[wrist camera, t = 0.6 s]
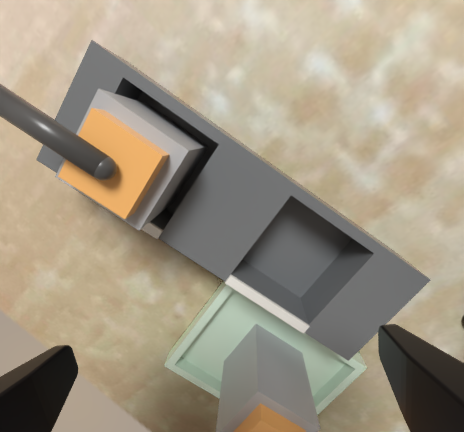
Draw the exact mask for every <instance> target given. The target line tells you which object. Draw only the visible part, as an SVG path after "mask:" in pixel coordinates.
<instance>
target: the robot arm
mask: <svg viewBox="0 0 464 432" xmlns="http://www.w3.org/2000/svg"><path fill="white" fill-rule="evenodd" d="M378 341H379V356H380V360H381V363H382V365H383V367H384V370H385V372H386V375H387V377H388V380H389V382H390V385H391V387H392V390H393V392H394V395H395V397H396V400H397V402H398V405H399V407H400V410H401V412H402V414H403V417H404V419H405V421H406V423H407V425H408V427H409V430H410V432H464V363H463V362H461V361H459V360H457V359H456V358H454V357H452V356H450V355H449V354H447V353H445V352H443V351H442V350H440V349H438V348H436V347H435V346H433V345H431V344H429V343H428V342H426V341H424V340H422V339H421V338H419V337H417V336H415V335H414V334H412V333H410V332H408V331H407V330H405V329H403V328H401V327H400V326H398V325H395V324H390V325H381V326H380V327H379V330H378ZM77 374H78V365H77V362H76V359H75V356H74V353H73V350H72V348H71V347H70V346H68V345H61V346H55V347H53V348H51V349H49V350H47V351H46V352H44V353H42V354H40V355H39V356H37V357H35V358H33V359H31V360H30V361H28V362H26V363H24V364H22V365H21V366H19V367H17V368H15V369H13V370H12V371H10V372H8V373H6V374H5V375H3V376H1V377H0V432H51V431H52V429H53V427H54V425H55V423H56V420H57V418H58V416H59V414H60V412H61V410H62V407H63V405H64V403H65V401H66V399H67V396H68V394H69V392H70V390H71V388H72V386H73V384H74V381H75V379H76V377H77Z"/></svg>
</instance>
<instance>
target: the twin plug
mask: <svg viewBox="0 0 464 432" xmlns="http://www.w3.org/2000/svg"><path fill="white" fill-rule="evenodd" d="M0 116H1V117H2V118H4V119H5V120H7V121H8V122H10V123H11V124H13V125H14V126H16V127H17V128H19V129H20V130H22V131H24V132H25V133H27V134H28V135H30V136H31V137H33V138H34V139H36V140H37V141H39V142H40V143H42V144H43V145H45V146H47V147H48V148H50V149H51V150H53V151H54V152H56V153H57V154H59V155H60V156H62V157H63V158H64V159H63V162H62V164H61V166H60V168H59V170H58V172H57V174H56V176H55V177H56V178H58V179H59V180H61V181H62V182H64V183H66V184H67V185H69V186H70V187H72V188H73V189H75V190H76V191H78V192H80V193H81V194H83V195H84V196H86V197H87V198H89V199H90V200H92V201H94V202H95V203H97V204H98V205H100V206H101V207H103V208H104V209H106V210H108V211H109V212H111V213H112V214H114V215H115V216H117V217H118V218H120V219H122V220H123V221H125V222H126V223H128V224H129V225H131V226H132V227H134V228H136V229H137V230H141V229H142V228H143V227H144V226H145V225H147V224H148V223H149V222H150V221H151V220H152V219H154V218H155V217H156V216H157V215H158V214H160V213H161V212H162V211H163V210H164V209H165V208H167V207H168V206H169V205H170V204H171V203H173V201H174V200H175V198H176V197H177V195H178V193H179V192H180V190H181V189H182V187H183V186H184V184H185V182H186V181H187V179H188V178H189V176H190V175H191V173H192V171H193V170H194V168H195V167H196V165H197V164H198V162H199V161H200V159H201V157H202V156H203V154H204V153H205V151H206V150H207V148H208V145H206V144H205V143H203V142H202V141H200V140H199V139H198V138H196V137H195V136H193V135H192V134H190V133H189V132H188V131H186V130H185V129H183V128H182V127H180V126H179V125H178V124H176V123H175V122H173V121H172V120H170V119H169V118H167V117H166V116H165V115H163V114H162V113H160V112H159V111H157V110H156V109H155V108H153V107H152V106H150V105H149V104H146V103H143V102H140V101H136V100H133V99H130V98H127V97H124V96H121V95H118V94H114V93H111V92H108V91H105V90H102V89H99V88H98V90H97V92H96V94H95V96H94V98H93V100H92V102H91V105H90V107H89V109H88V111H87V113H86V115H85V117H84V119H83V121H82V123H81V125H80V127H79V129H78V131H77V133H76V134H75V133H73V132H72V131H70V130H69V129H67V128H66V127H64V126H63V125H61V124H60V123H58V122H57V121H55V120H54V119H52V118H51V117H49V116H48V115H46V114H45V113H43V112H42V111H40V110H39V109H37V108H36V107H34V106H33V105H31V104H30V103H28V102H27V101H25V100H24V99H22V98H21V97H19V96H18V95H16V94H15V93H13V92H12V91H10V90H9V89H7V88H6V87H4V86H3V85H1V84H0Z"/></svg>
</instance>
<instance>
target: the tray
mask: <svg viewBox="0 0 464 432" xmlns="http://www.w3.org/2000/svg"><path fill="white" fill-rule="evenodd" d="M255 324H258V325H259V326H261V327H262V328H264V329H266V330H267V331H269V332H270V333H272V334H273V335H275V336H277V337H278V338H280V339H281V340H283V341H284V342H286V343H288V344H289V345H291V346H292V347H294V348H295V349H297V350H299V351H300V352H302V354H303V358H304V362H305V367H306V371H307V375H308V379H309V383H310V387H311V392H312V396H313V400H314V404H315V408H316V412H317V415H318V414H319V413H320V412H321V411H322V410H324V409H325V408H326V407H327V406H328V405H329V404H330V403H331V402H332V401H333V400H334V399H335V398H336V397H337V396H338V395H339V394H340V393H341V392H342V391H343V390H345V389H346V388H347V387H348V386H349V385H350V384H351V383H352V382H353V381H354V380H355V379H356V378H357V377H358V376H359V375H360V374H361V373H362V372H363V371H365V370H366V369H367V366H366V364H365V362H364V360H363V358H362V356H361V355H360V353H359V352H357V353H356V354H355V355H354V356H353V357H352V358H351V359H350V360H349V361H348V360H346V359H345V358H343V357H342V356H340V355H338V354H337V353H335V352H334V351H332V350H331V349H329V348H328V347H326V346H324V345H323V344H321V343H320V342H318V341H317V340H315V339H314V338H312V337H310V336H309V335H307V334H306V333H304V334H303V333H302V332H300V331H298V330H297V329H295V328H294V327H292V326H291V325H289V324H288V323H286V322H284V321H283V320H281V319H280V318H278V317H277V316H275V315H274V314H272V313H270V312H269V311H267V310H266V309H264V308H263V307H261V306H260V305H258V304H256V303H255V302H253V301H252V300H250V299H249V298H247V297H246V296H244V295H242V294H241V293H239V292H238V291H236V290H235V289H233V288H232V287H230V286H229V285H227V284H225V281H223V282H222V283H221V285H220V286H219V287H218V289H217V290H216V291H215V293H214V294H213V295H212V296H211V298H210V299H209V300H208V302H207V303H206V304H205V306H204V307H203V308H202V310H201V311H200V312H199V314H198V315H197V316H196V317H195V319H194V320H193V321H192V323H191V324H190V325H189V327H188V328H187V329H186V331H185V332H184V333H183V335H182V336H181V337H180V338H179V340H178V341H177V342H176V344H175V345H174V346H173V348H172V349H171V350H170V352H169V354H168V357H167V359H166V362H165V365H164V366H165V367H166V368H168V369H170V370H171V371H173V372H175V373H177V374H178V375H180V376H182V377H183V378H185V379H187V380H188V381H190V382H192V383H193V384H195V385H197V386H199V387H200V388H202V389H204V390H205V391H207V392H209V393H210V394H212V395H214V396H215V397H217V398H219V399H220V390H221V382H222V373H223V365H224V361H225V359H226V358H227V357H228V356H229V355H230V354H231V352H232V351H233V350H234V349H235V348H236V346H237V345H238V344H239V343H240V342H241V341H242V339H243V338H244V337H245V336H246V335H247V333H248V332H249V331H250V330H251V329H252V328H253V326H254V325H255Z"/></svg>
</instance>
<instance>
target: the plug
mask: <svg viewBox="0 0 464 432" xmlns="http://www.w3.org/2000/svg"><path fill="white" fill-rule="evenodd" d="M319 430H320V425H319V421H318V417H317V412H316V408H315V404H314V400H313V396H312V392H311V387H310V383H309V379H308V375H307V371H306V367H305V362H304V358H303V354H302V352H300V351H299V350H297V349H295V348H294V347H292V346H291V345H289V344H288V343H286V342H284V341H283V340H281V339H280V338H278V337H277V336H275V335H273V334H272V333H270V332H269V331H267V330H266V329H264V328H262V327H261V326H259V325H258V324H255V325H254V326H253V328H252V329H251V330H250V331H249V332H248V333H247V335H246V336H245V337H244V338H243V339H242V341H241V342H240V343H239V344H238V345H237V346H236V348H235V349H234V350H233V351H232V352H231V354H230V355H229V356H228V357H227V358H226V359H225V361H224V365H223V373H222V382H221V390H220V399H219V408H218V416H217V425H216V432H318V431H319Z"/></svg>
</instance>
